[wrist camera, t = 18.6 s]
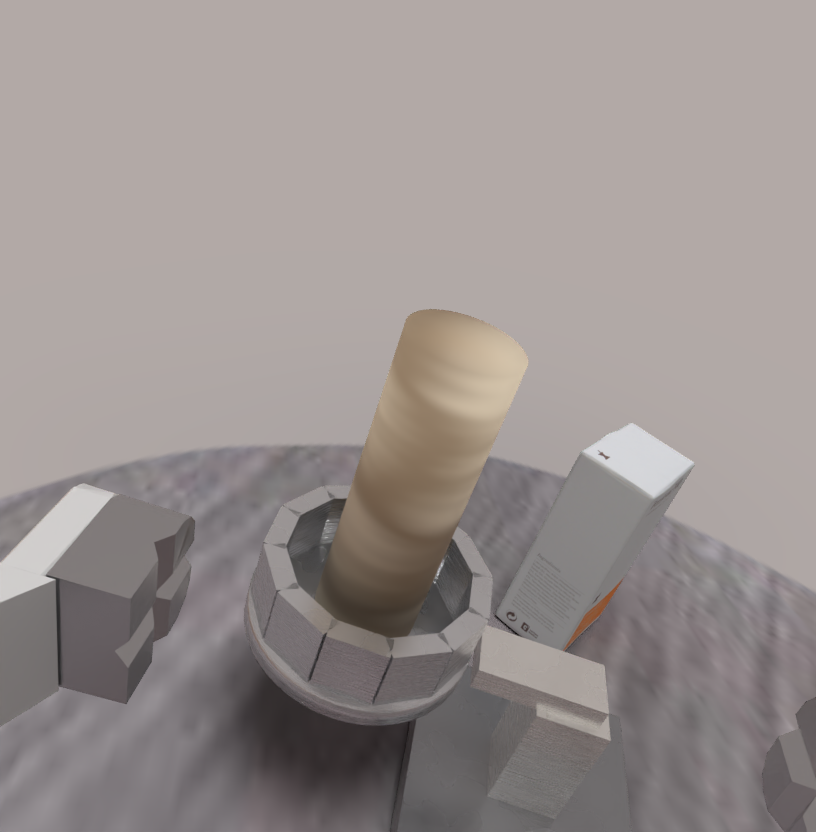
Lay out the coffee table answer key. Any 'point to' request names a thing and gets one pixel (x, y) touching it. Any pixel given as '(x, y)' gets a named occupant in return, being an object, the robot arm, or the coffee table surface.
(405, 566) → the rail post
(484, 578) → the cup bracket
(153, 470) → the coffee table surface
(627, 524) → the skincare box
